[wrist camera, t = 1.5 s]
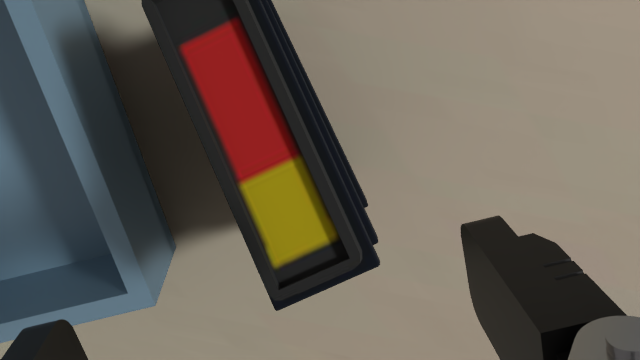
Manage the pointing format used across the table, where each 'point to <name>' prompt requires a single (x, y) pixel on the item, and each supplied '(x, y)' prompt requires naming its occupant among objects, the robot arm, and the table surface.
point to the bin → (70, 178)
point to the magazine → (267, 143)
